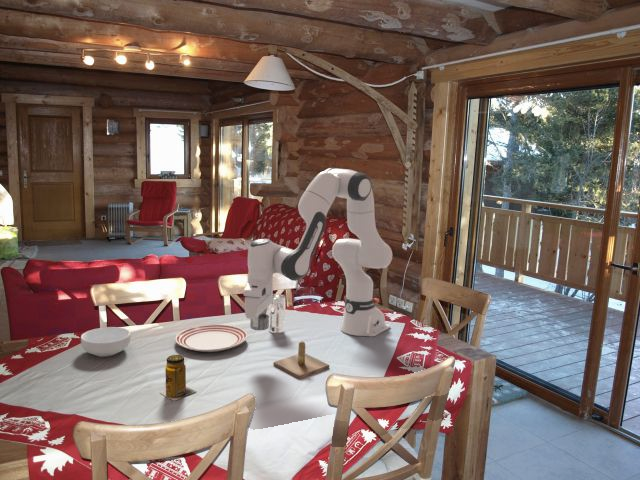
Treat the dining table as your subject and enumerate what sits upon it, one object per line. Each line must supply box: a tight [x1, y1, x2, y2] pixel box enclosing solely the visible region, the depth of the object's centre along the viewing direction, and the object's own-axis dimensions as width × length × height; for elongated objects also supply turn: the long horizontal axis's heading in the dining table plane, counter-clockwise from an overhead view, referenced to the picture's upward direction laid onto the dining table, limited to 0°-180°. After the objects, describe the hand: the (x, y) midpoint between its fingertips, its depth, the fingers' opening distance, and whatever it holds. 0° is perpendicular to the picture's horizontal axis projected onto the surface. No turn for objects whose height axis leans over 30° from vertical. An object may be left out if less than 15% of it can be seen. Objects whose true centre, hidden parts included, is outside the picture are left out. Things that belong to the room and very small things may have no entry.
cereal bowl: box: [80, 326, 131, 358], centre depth 196 cm, size 17×17×7 cm
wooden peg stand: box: [272, 341, 330, 380], centre depth 190 cm, size 14×14×9 cm
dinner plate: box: [174, 323, 248, 353], centre depth 209 cm, size 28×27×3 cm
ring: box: [249, 313, 270, 331], centre depth 192 cm, size 6×6×4 cm
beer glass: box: [268, 293, 286, 334], centre depth 224 cm, size 7×7×15 cm
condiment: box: [160, 354, 197, 402], centre depth 168 cm, size 7×8×12 cm
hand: (259, 322), depth 192 cm, fingers closed on ring, 6 cm apart
